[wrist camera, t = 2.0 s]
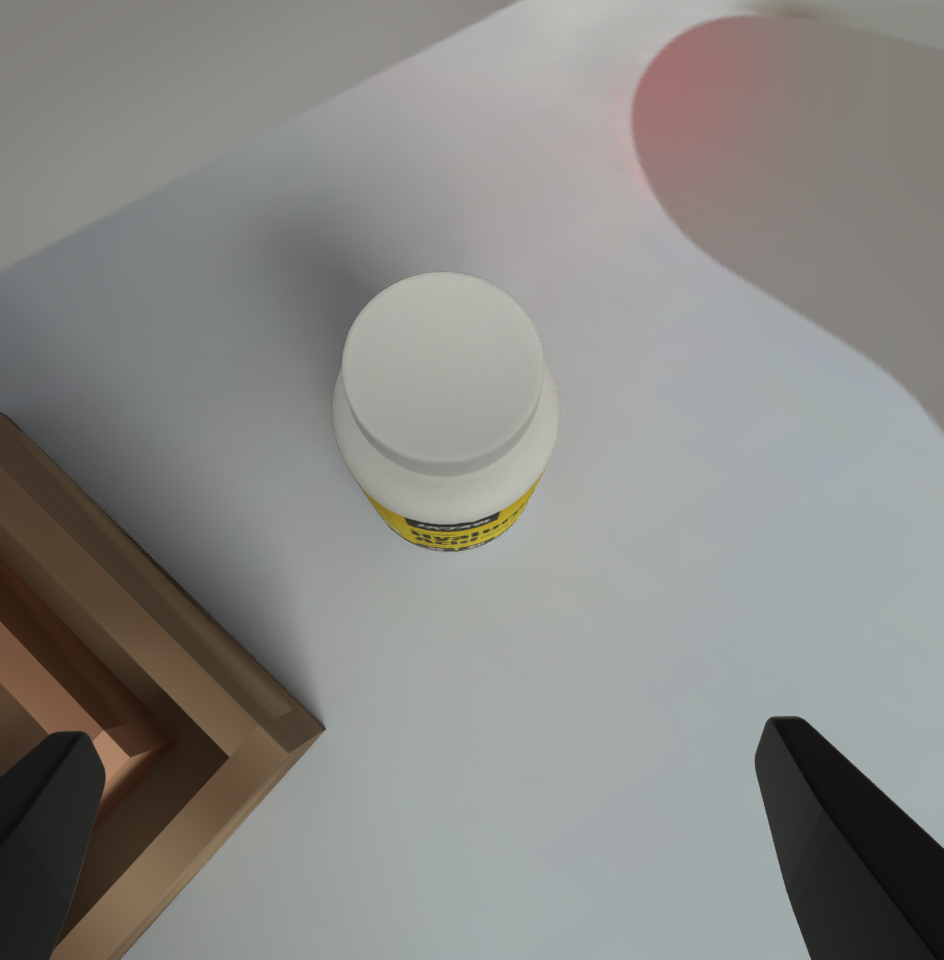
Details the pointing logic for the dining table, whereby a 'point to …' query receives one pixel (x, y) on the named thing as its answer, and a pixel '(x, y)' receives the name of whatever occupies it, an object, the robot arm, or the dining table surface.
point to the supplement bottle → (445, 409)
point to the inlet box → (128, 699)
